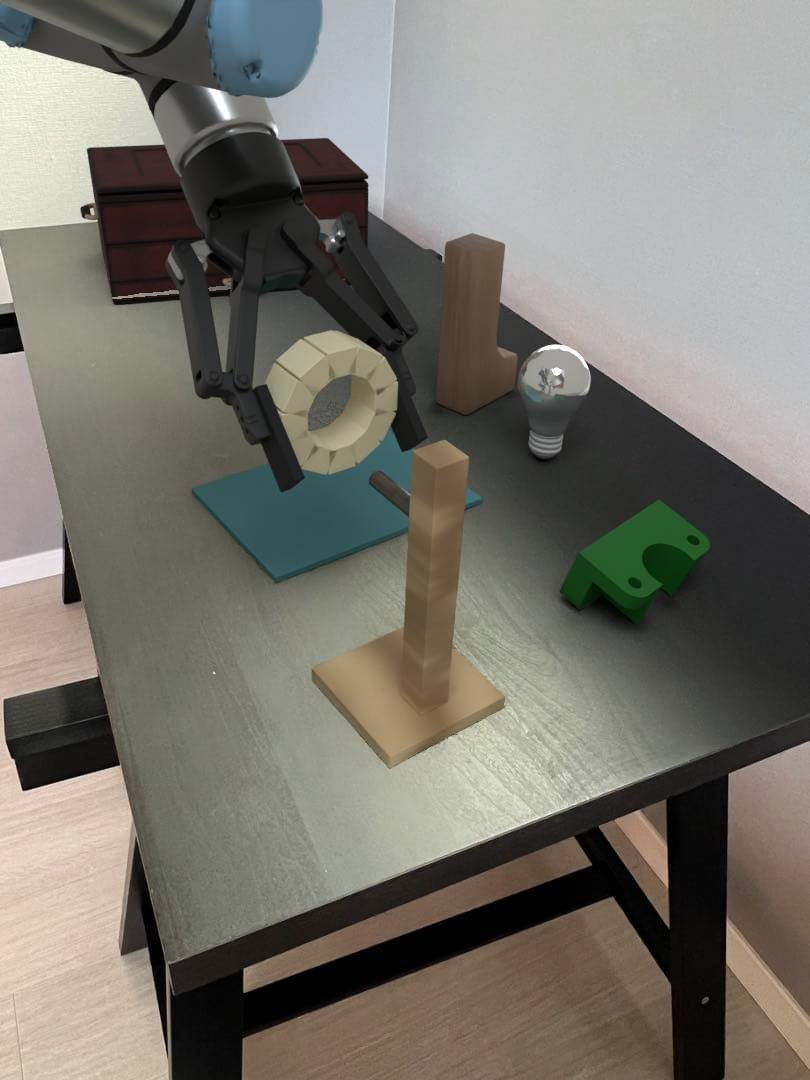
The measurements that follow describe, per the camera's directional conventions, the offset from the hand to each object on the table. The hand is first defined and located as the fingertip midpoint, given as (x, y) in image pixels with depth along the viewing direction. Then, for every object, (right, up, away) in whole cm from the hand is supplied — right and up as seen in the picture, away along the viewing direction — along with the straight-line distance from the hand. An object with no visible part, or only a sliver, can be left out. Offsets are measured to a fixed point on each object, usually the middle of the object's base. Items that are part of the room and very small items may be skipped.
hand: (356, 464), depth 63 cm
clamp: (+22, -10, +15) cm, 29 cm away
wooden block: (+11, +11, +43) cm, 46 cm away
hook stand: (+3, -16, +5) cm, 17 cm away
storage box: (-21, +33, +71) cm, 81 cm away
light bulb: (+17, +3, +33) cm, 37 cm away
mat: (-3, -1, +25) cm, 25 cm away
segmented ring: (-2, 0, +3) cm, 4 cm away
